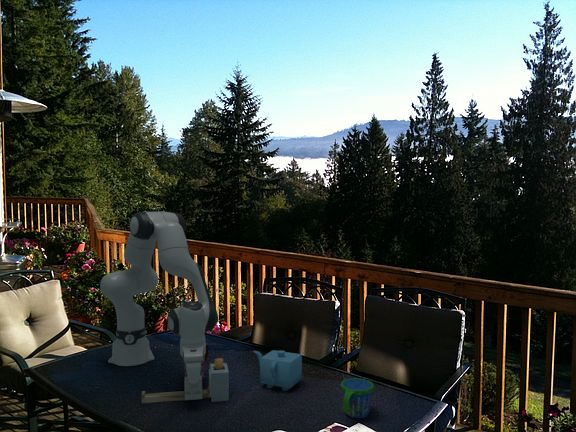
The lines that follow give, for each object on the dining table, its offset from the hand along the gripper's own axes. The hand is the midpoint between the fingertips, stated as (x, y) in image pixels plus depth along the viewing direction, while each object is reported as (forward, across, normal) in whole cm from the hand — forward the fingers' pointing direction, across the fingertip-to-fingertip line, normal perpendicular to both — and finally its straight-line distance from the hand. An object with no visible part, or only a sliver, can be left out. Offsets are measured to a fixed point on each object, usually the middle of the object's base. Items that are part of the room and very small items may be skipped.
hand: (193, 387), depth 185 cm
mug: (+4, -20, +2) cm, 20 cm away
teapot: (+4, -7, +30) cm, 31 cm away
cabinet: (+4, 0, +9) cm, 10 cm away
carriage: (+4, 0, 0) cm, 4 cm away
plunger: (-4, 0, +9) cm, 10 cm away
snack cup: (+4, +24, +52) cm, 57 cm away
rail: (+4, 0, -6) cm, 7 cm away
